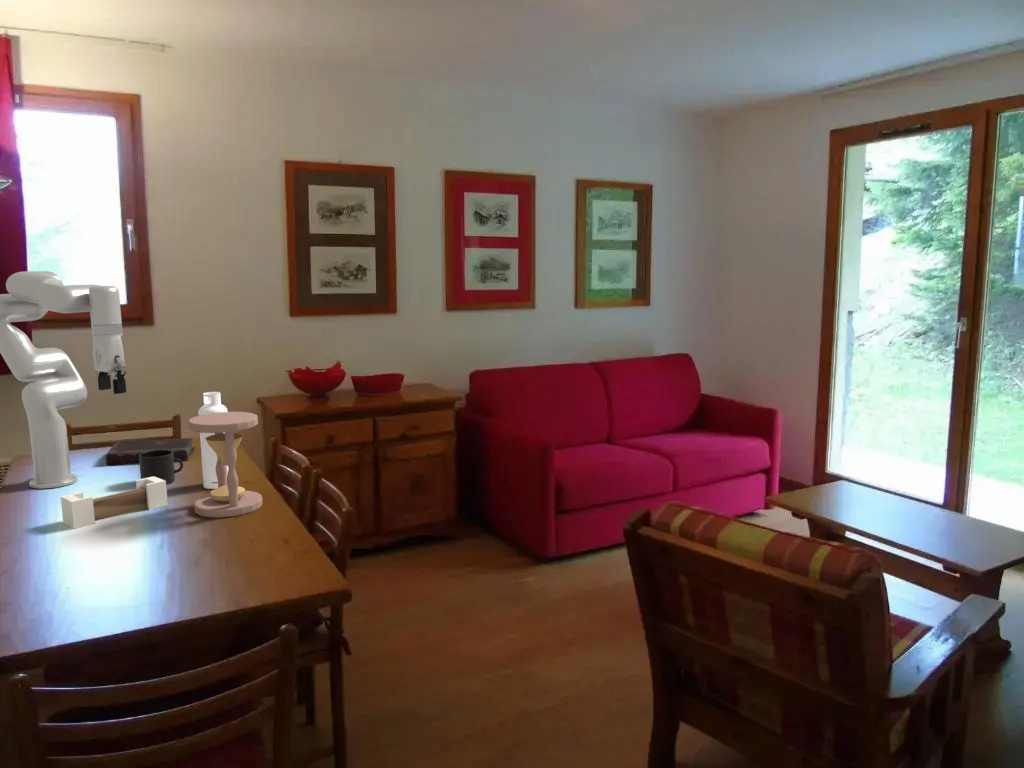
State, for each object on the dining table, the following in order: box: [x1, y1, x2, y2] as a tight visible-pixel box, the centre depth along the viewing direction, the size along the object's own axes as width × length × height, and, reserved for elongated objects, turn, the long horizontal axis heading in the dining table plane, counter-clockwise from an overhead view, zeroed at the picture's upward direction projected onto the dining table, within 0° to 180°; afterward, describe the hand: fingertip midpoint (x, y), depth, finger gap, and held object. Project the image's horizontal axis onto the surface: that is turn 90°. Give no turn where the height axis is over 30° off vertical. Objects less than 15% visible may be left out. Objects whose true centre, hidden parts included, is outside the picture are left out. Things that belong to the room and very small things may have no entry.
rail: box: [93, 487, 148, 522], centre depth 205 cm, size 3×16×5 cm, turn 140°
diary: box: [105, 437, 196, 467], centre depth 264 cm, size 19×25×5 cm
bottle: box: [197, 391, 229, 490], centre depth 229 cm, size 8×8×28 cm
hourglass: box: [187, 411, 263, 519], centre depth 208 cm, size 18×18×25 cm
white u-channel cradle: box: [60, 476, 169, 529], centre depth 204 cm, size 7×24×7 cm, turn 140°
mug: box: [139, 450, 184, 486], centre depth 233 cm, size 9×12×9 cm
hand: (112, 391), depth 216 cm, fingers open, 9 cm apart
